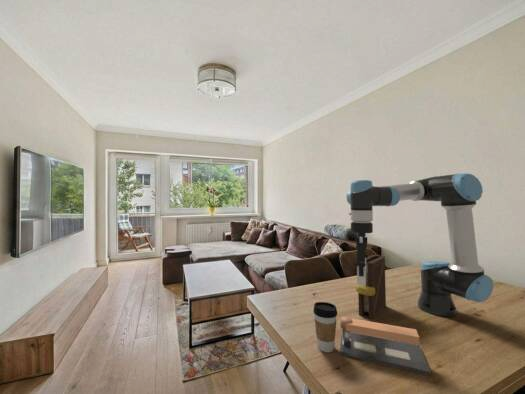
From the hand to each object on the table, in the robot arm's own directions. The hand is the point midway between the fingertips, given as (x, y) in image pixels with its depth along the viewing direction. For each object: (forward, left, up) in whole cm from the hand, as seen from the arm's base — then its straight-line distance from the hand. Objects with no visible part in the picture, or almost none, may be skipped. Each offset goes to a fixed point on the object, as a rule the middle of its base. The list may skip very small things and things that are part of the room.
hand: (362, 279), depth 85 cm
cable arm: (-4, +3, -17) cm, 18 cm away
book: (-4, -31, -24) cm, 39 cm away
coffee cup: (+13, +6, -24) cm, 28 cm away
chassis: (-5, +2, -24) cm, 25 cm away
